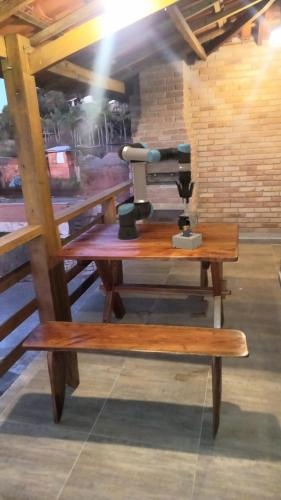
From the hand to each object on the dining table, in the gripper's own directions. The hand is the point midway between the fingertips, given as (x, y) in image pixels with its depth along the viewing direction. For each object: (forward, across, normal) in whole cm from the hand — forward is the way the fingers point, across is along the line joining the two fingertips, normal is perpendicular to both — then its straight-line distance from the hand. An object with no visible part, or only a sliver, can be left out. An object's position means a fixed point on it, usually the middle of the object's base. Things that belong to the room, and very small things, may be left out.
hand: (185, 208), depth 239 cm
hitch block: (+24, 0, 0) cm, 24 cm away
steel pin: (+23, 0, 0) cm, 23 cm away
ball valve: (+25, -10, +19) cm, 33 cm away
